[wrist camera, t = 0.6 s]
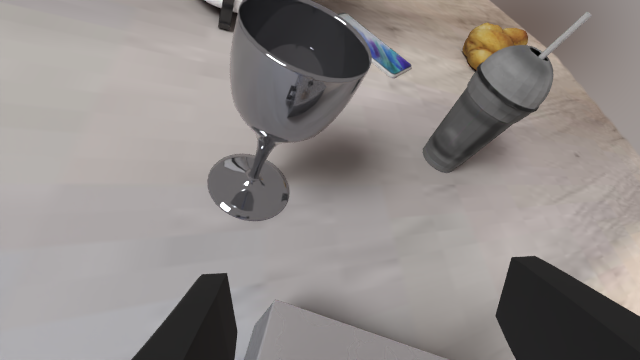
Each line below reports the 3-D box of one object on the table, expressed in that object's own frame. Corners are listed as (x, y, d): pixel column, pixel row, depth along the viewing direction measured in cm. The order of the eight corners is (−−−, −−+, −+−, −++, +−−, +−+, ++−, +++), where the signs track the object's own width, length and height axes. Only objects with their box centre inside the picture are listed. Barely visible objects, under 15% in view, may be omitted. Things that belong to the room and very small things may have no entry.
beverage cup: (458, 148, 47) (599, 8, 33) (467, 189, 42) (636, 46, 28) (411, 129, 45) (536, -27, 31) (414, 169, 41) (564, 6, 26)
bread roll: (487, 85, 64) (521, 47, 58) (446, 53, 66) (475, 13, 60) (504, 69, 72) (536, 35, 67) (467, 41, 74) (495, 5, 69)
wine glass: (213, 140, 32) (251, -26, 21) (296, 163, 34) (368, 24, 23) (191, 212, 27) (224, 42, 16) (289, 234, 29) (377, 97, 18)
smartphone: (345, 11, 59) (413, 66, 56) (343, 16, 60) (410, 70, 57) (320, 16, 54) (394, 76, 51) (318, 21, 55) (391, 81, 52)
